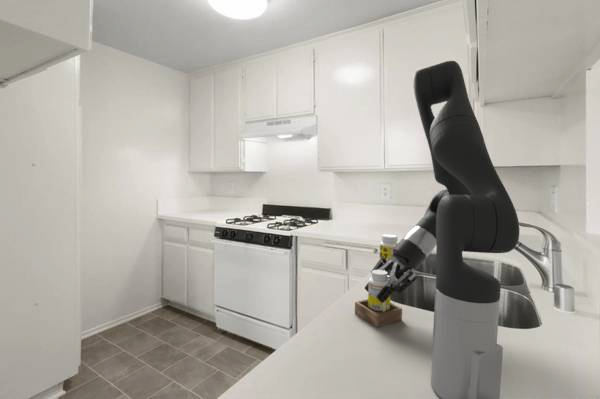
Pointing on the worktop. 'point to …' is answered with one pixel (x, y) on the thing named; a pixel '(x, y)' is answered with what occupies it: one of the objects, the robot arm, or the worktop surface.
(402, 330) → the worktop surface
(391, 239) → the supplement bottle
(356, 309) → the wooden box
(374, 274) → the supplement bottle
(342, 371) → the worktop surface
